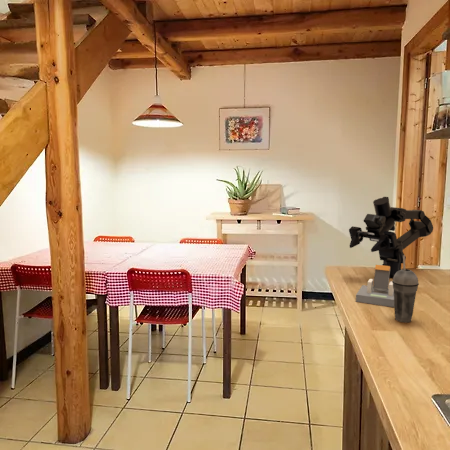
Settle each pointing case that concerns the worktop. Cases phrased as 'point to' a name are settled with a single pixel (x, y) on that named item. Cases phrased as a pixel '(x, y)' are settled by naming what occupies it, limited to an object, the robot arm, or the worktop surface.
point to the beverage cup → (404, 293)
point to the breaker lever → (381, 278)
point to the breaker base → (376, 295)
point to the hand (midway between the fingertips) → (360, 248)
